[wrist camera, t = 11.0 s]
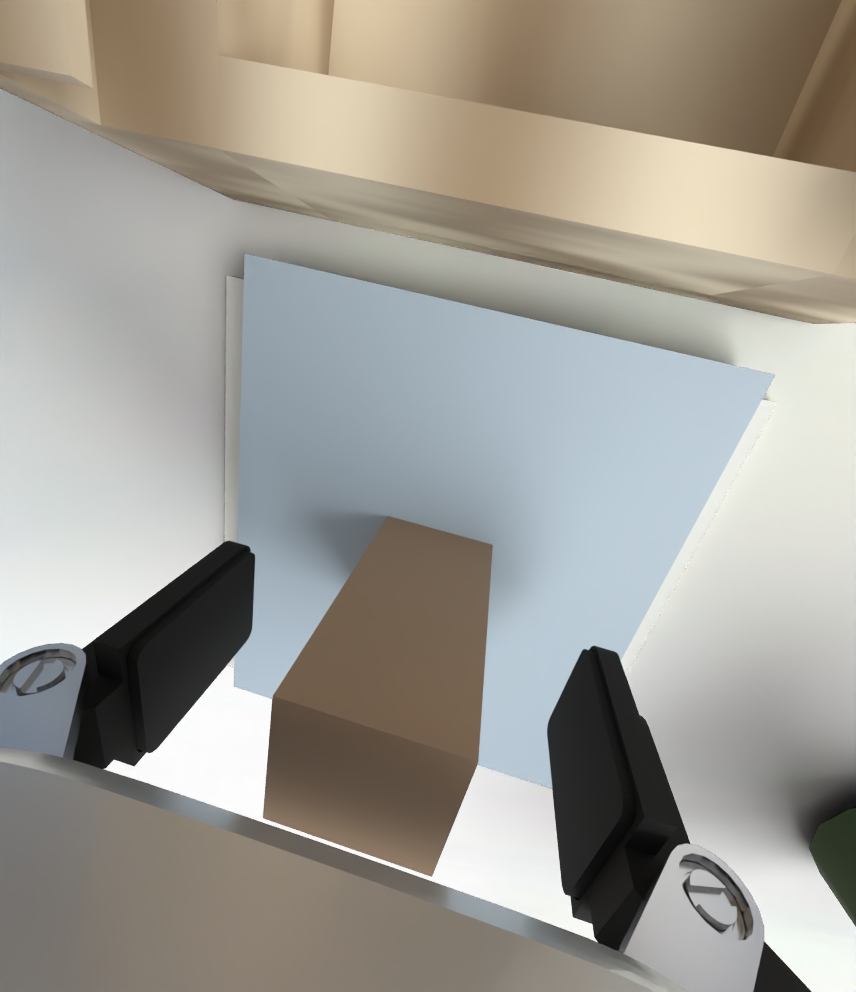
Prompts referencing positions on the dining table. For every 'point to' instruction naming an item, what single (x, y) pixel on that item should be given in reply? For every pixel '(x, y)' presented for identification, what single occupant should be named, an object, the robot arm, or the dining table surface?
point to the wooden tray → (496, 125)
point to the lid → (447, 535)
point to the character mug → (838, 858)
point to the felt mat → (687, 551)
